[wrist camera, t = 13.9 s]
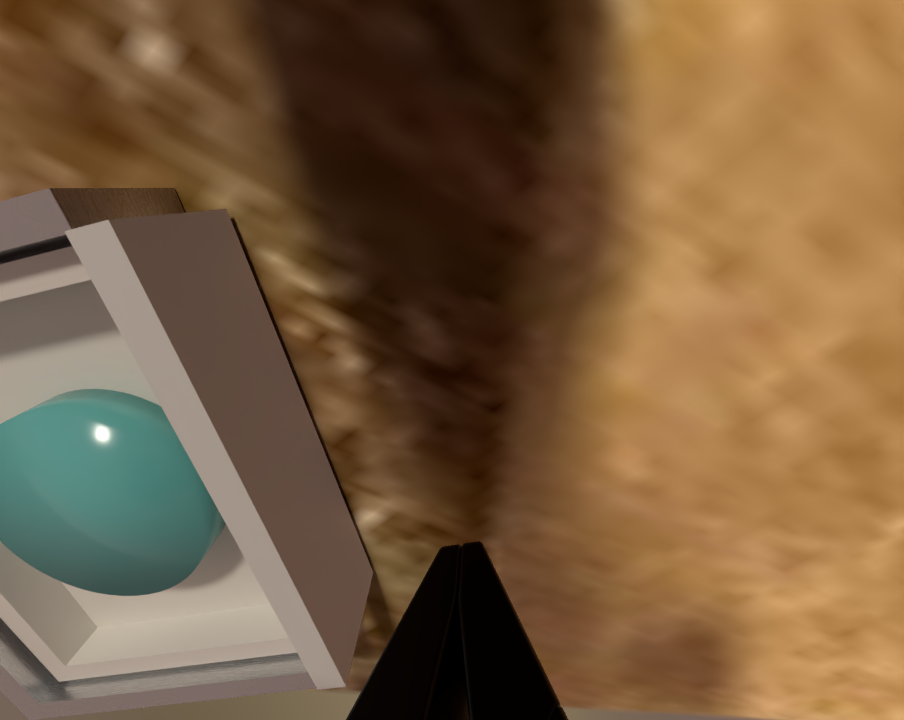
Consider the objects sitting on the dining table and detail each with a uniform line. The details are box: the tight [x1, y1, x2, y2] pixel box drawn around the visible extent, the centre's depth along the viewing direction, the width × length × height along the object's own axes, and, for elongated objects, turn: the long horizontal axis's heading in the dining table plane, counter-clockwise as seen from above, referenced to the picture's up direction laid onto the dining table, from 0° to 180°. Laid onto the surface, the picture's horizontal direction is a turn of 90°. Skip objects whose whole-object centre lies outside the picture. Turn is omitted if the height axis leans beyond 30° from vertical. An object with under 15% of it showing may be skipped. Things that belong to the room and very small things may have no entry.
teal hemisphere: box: [0, 389, 226, 596], centre depth 13 cm, size 7×7×2 cm
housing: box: [0, 188, 316, 720], centre depth 14 cm, size 12×17×4 cm
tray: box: [0, 209, 373, 690], centre depth 14 cm, size 12×15×4 cm
